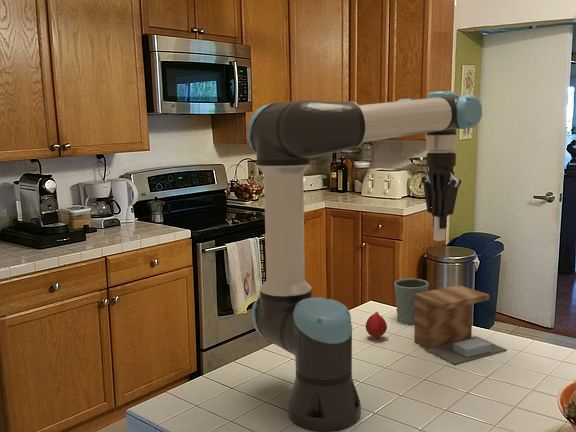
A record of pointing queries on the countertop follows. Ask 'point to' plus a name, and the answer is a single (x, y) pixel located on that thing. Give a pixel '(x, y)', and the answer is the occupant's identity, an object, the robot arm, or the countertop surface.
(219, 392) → the countertop surface
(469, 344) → the box
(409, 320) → the grey-green tapered bin
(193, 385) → the countertop surface
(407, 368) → the countertop surface
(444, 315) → the brown flat-topped block
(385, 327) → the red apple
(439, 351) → the mat
